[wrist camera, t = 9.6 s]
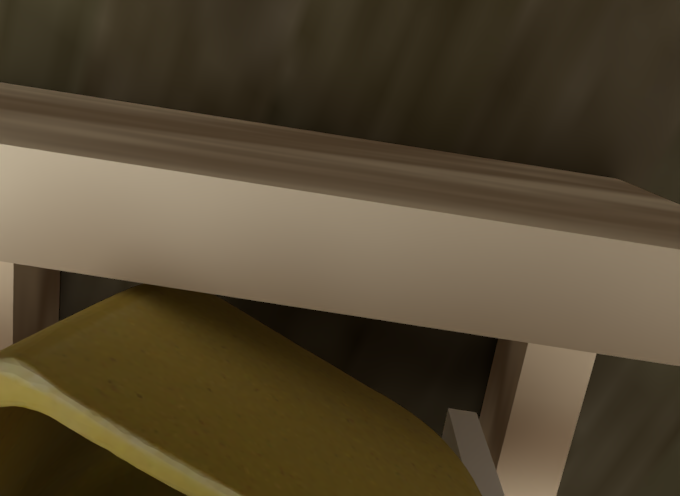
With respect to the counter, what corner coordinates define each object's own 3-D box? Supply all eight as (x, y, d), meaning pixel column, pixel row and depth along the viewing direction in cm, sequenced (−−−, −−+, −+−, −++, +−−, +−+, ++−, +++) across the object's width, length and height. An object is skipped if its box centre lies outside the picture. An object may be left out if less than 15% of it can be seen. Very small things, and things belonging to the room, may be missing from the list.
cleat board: (-14, 80, 20) (-368, 87, 10) (617, 178, 20) (854, 276, 10) (-13, 476, 24) (-271, 752, 14) (514, 557, 24) (617, 885, 14)
